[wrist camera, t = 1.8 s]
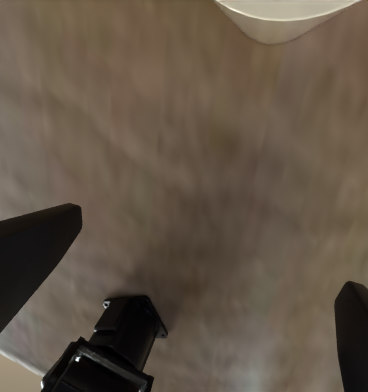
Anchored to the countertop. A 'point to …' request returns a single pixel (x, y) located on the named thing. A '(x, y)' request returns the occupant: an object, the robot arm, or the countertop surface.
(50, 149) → the countertop surface
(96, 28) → the countertop surface
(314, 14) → the tall white cylinder
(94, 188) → the countertop surface
